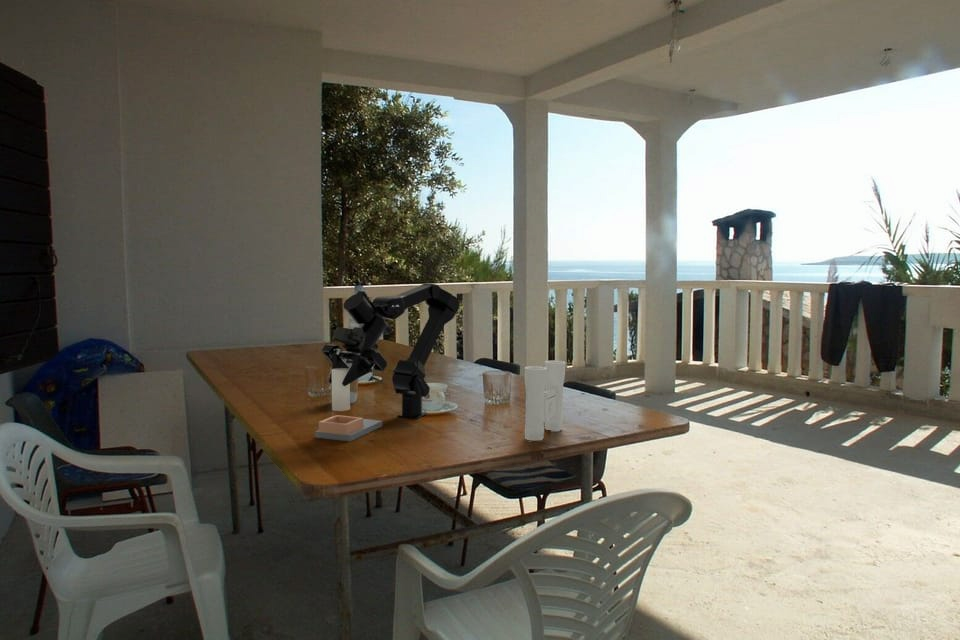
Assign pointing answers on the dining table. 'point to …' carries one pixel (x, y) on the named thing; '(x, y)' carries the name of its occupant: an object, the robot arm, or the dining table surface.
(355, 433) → the candle stand
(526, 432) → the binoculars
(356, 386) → the coffee cup
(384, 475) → the dining table surface
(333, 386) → the candle
